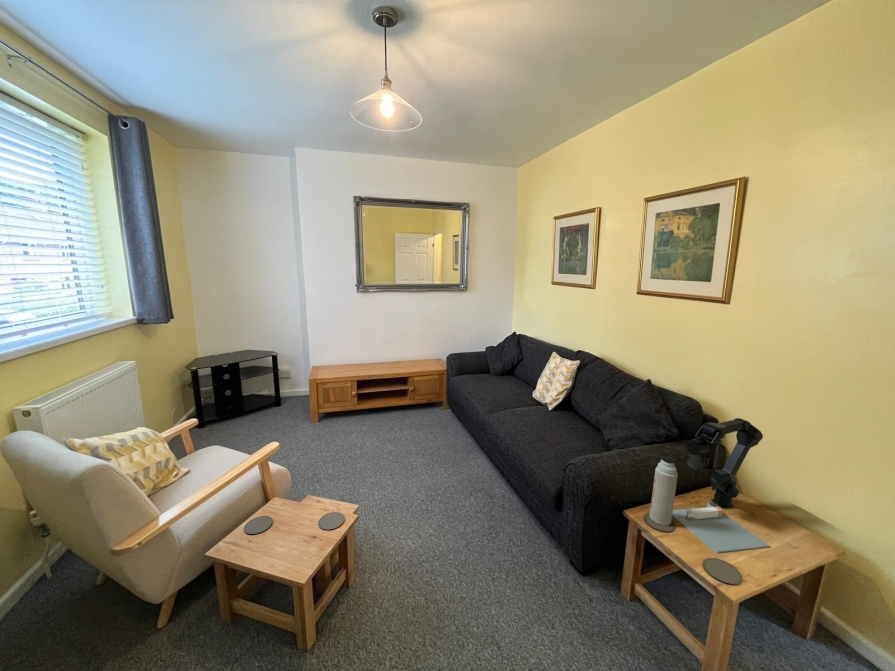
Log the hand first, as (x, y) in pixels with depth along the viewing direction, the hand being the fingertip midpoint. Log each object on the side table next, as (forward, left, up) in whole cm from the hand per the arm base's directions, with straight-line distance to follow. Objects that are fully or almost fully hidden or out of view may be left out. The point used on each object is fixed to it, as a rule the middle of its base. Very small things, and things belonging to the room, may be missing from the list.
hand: (703, 484), depth 155 cm
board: (+5, +12, -12) cm, 18 cm away
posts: (+4, +4, -12) cm, 13 cm away
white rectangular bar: (+3, +6, -11) cm, 13 cm away
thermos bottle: (+24, +4, -12) cm, 27 cm away
